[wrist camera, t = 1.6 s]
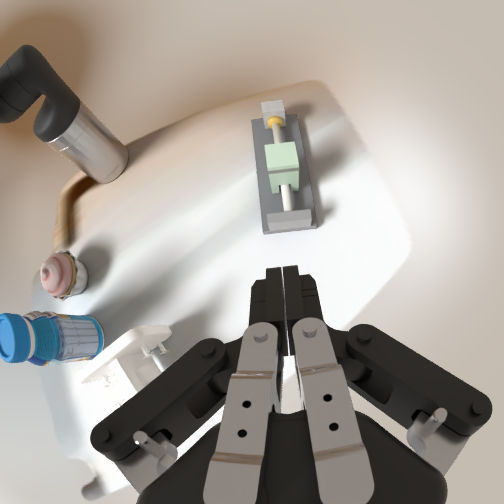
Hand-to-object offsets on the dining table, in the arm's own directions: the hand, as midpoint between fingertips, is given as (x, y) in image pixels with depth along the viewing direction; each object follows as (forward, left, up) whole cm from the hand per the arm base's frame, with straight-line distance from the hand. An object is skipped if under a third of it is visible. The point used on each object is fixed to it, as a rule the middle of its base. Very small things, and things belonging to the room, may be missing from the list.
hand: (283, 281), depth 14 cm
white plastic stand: (-2, -23, -28) cm, 36 cm away
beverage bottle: (-14, -33, -28) cm, 45 cm away
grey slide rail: (-18, +12, -27) cm, 35 cm away
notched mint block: (-15, +10, -26) cm, 32 cm away
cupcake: (-25, -30, -28) cm, 48 cm away
